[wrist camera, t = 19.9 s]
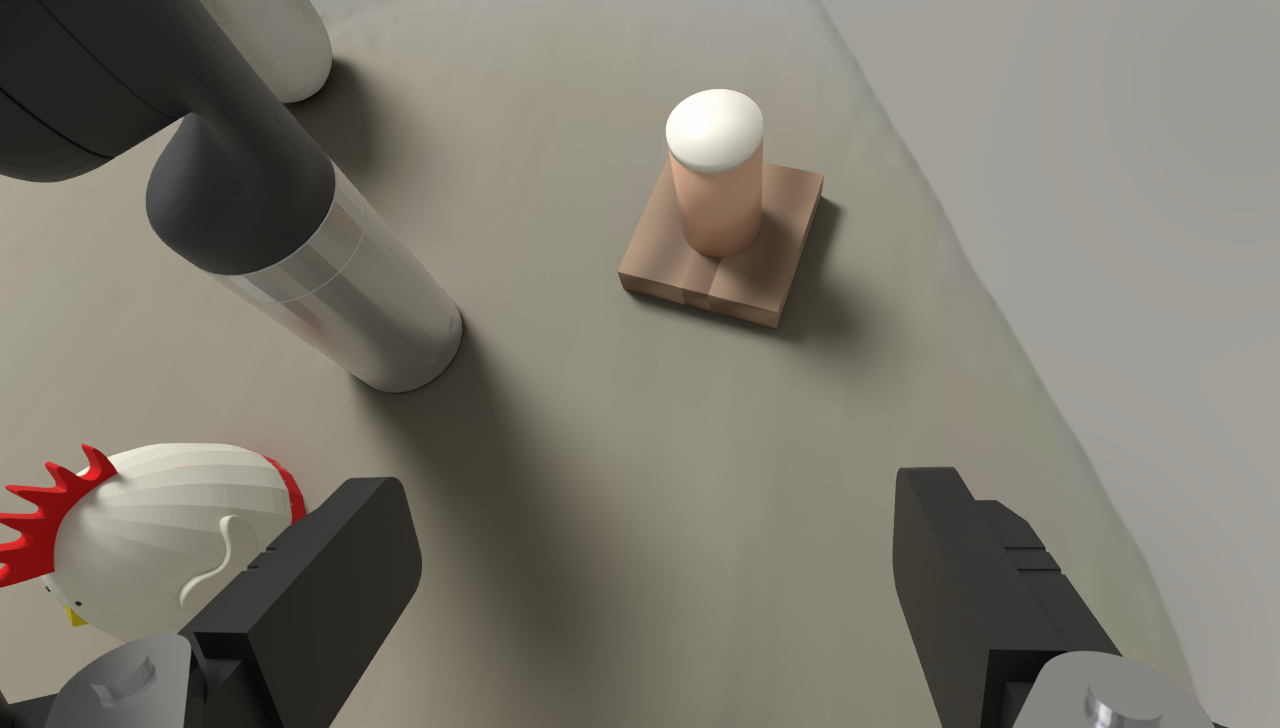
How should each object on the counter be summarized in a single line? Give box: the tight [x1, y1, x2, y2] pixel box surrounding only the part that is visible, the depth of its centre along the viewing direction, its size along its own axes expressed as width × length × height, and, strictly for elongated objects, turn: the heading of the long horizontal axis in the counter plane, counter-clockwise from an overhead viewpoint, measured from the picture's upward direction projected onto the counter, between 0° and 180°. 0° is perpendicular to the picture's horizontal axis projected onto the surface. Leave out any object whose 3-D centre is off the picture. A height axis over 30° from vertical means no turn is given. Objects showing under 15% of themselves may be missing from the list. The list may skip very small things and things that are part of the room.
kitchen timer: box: [0, 443, 305, 643], centre depth 41 cm, size 14×14×15 cm
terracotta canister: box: [666, 89, 763, 258], centre depth 44 cm, size 6×6×10 cm
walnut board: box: [617, 154, 824, 329], centre depth 50 cm, size 12×12×2 cm
